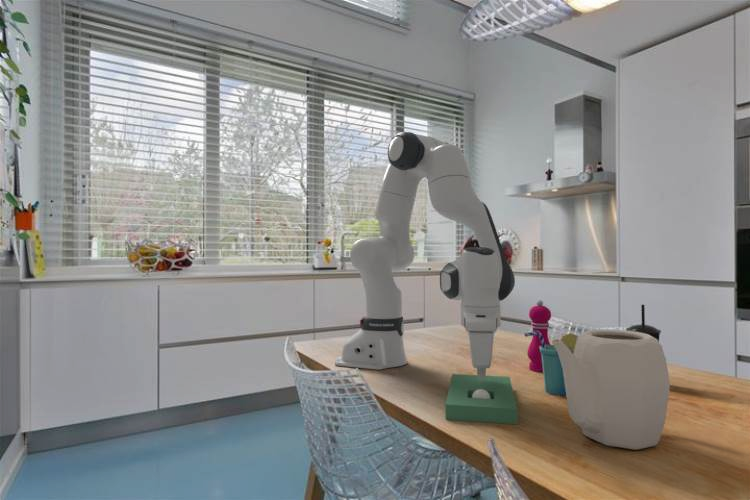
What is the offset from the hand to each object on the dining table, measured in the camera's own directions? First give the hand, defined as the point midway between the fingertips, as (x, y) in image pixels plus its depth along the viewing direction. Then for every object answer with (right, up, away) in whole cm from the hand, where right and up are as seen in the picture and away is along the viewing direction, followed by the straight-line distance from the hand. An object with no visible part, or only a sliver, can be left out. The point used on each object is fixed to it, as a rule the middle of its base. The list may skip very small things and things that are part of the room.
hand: (481, 378), depth 103 cm
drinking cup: (+45, -5, +13) cm, 47 cm away
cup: (+19, -5, +6) cm, 20 cm away
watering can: (+18, -5, -22) cm, 29 cm away
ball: (-1, -3, -5) cm, 6 cm away
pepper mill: (+24, -5, +27) cm, 36 cm away
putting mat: (0, -5, -1) cm, 5 cm away
